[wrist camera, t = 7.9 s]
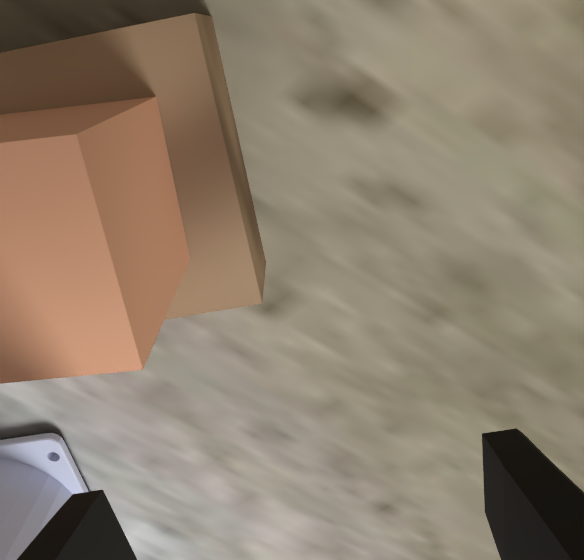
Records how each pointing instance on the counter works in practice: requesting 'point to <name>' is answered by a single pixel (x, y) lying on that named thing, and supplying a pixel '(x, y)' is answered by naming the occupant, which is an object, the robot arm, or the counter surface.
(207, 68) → the walnut base block
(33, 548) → the robot arm
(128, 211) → the terracotta block
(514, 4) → the counter surface
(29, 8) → the counter surface
